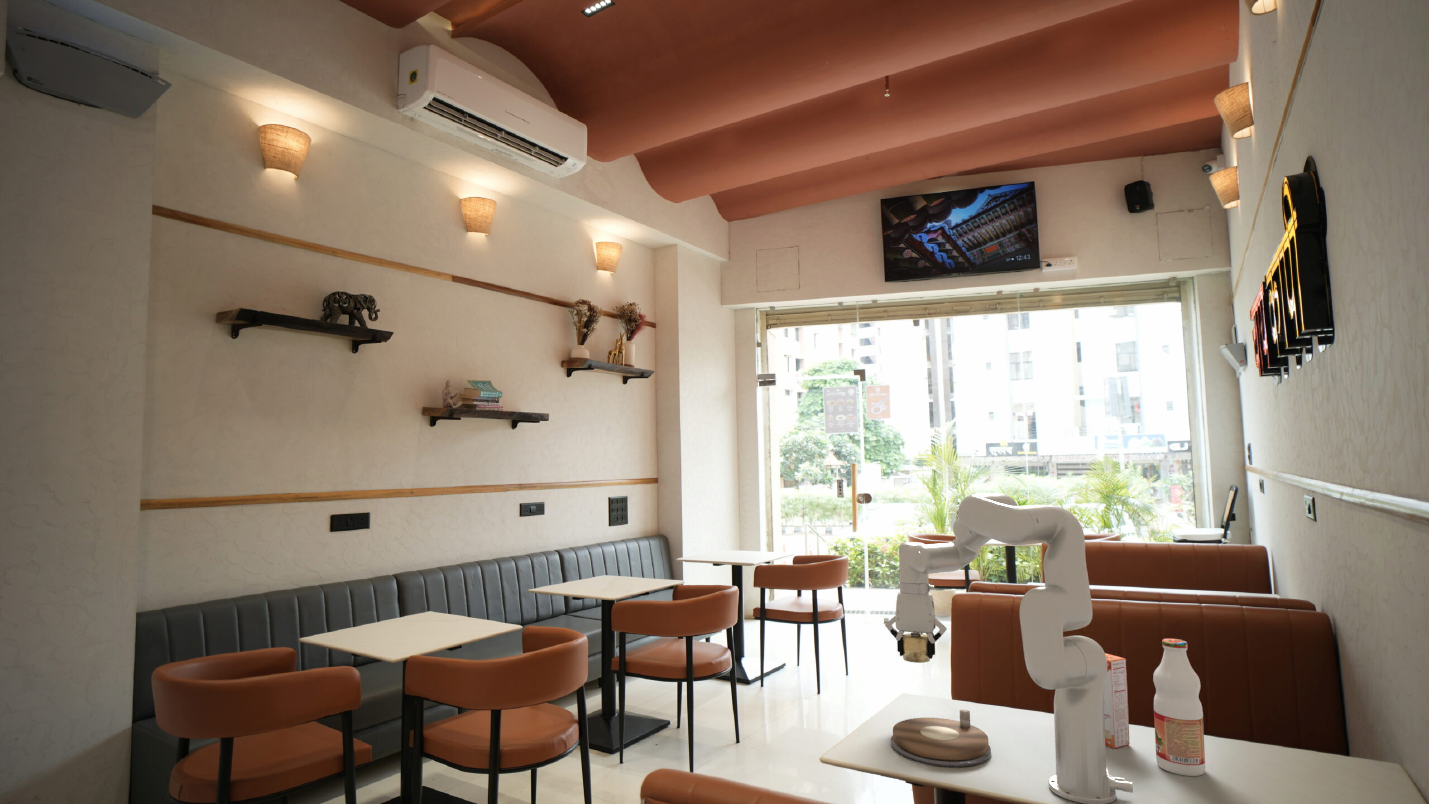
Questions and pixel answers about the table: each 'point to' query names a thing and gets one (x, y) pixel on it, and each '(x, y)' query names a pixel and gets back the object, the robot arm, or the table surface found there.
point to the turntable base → (941, 762)
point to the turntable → (941, 738)
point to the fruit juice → (1178, 713)
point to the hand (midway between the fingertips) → (916, 655)
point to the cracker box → (1116, 703)
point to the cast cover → (915, 647)
